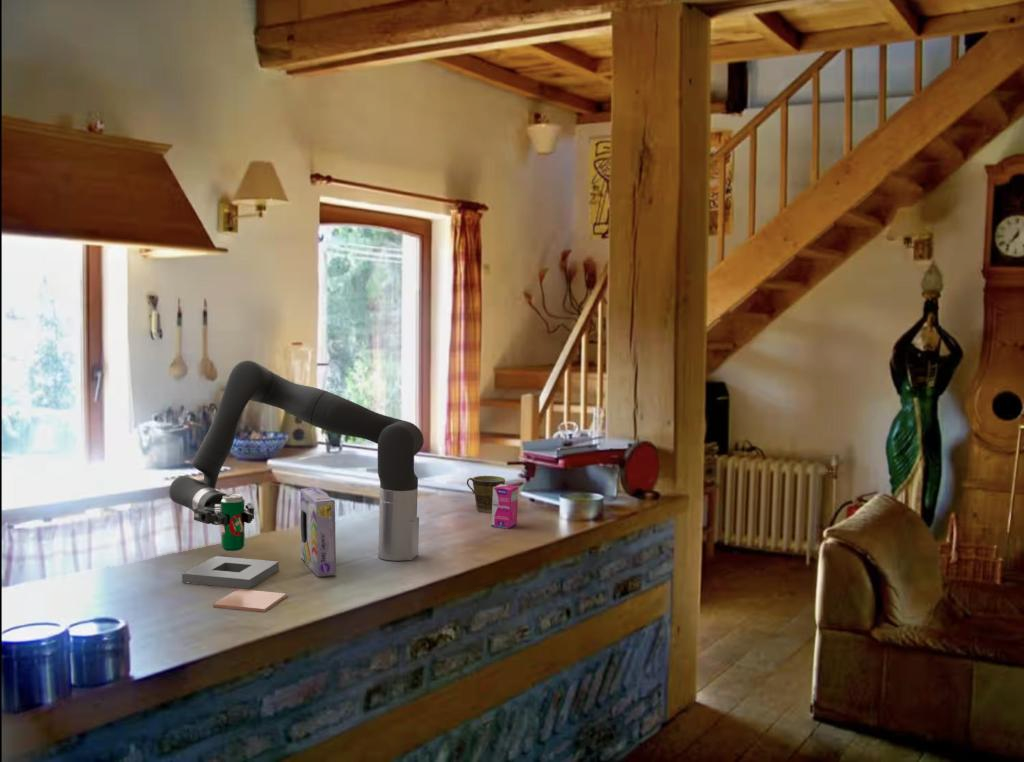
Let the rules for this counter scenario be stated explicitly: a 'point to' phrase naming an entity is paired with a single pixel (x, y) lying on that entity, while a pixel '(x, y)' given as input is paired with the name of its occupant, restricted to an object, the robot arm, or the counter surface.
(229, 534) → the soda can
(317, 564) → the cake pan box
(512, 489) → the supplement box
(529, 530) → the counter surface
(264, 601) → the terracotta tile
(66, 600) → the counter surface
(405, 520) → the robot arm
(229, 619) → the counter surface
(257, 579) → the frame
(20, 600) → the counter surface
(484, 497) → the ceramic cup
